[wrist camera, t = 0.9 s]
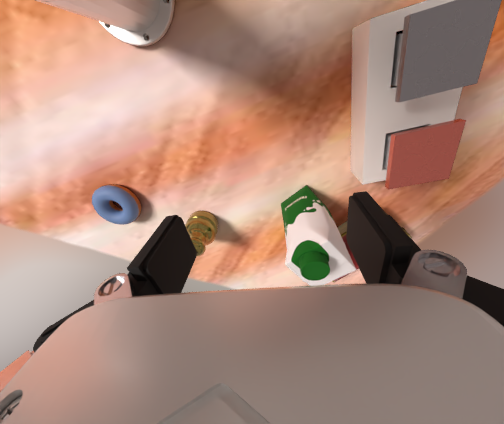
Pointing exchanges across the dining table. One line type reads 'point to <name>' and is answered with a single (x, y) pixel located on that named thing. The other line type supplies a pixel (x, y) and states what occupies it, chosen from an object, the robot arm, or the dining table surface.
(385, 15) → the white button box
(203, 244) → the gold rounded piece
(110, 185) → the doughnut
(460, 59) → the grey square push button
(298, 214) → the milk carton
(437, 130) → the red square push button
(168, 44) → the dining table surface
